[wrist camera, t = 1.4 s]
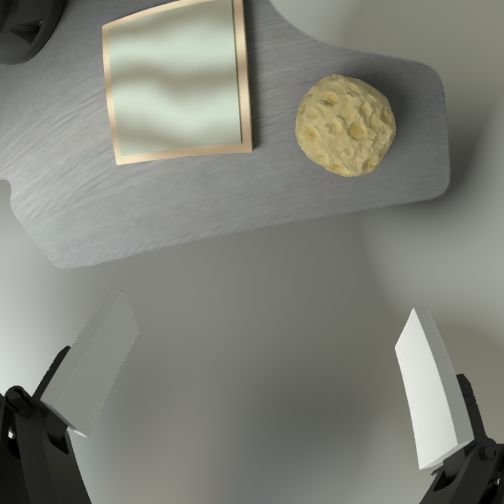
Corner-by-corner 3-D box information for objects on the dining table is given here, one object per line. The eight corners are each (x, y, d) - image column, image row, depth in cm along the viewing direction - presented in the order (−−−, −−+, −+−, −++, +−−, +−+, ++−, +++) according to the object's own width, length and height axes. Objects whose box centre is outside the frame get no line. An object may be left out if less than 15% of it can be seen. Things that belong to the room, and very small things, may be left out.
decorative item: (368, 143, 29) (429, 118, 20) (329, 203, 28) (397, 190, 18) (309, 86, 27) (359, 41, 17) (259, 141, 26) (305, 96, 16)
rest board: (107, 27, 21) (101, 25, 19) (243, -7, 19) (241, -11, 17) (122, 162, 30) (116, 165, 29) (253, 150, 28) (251, 152, 27)
